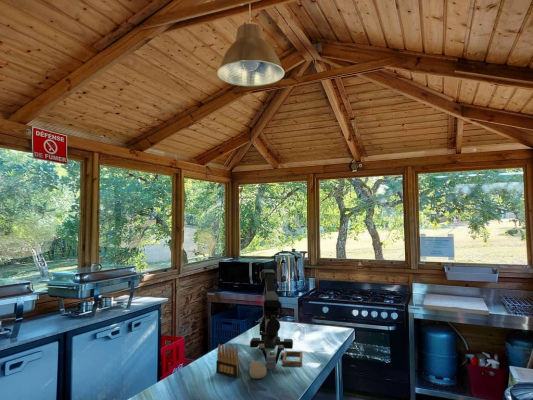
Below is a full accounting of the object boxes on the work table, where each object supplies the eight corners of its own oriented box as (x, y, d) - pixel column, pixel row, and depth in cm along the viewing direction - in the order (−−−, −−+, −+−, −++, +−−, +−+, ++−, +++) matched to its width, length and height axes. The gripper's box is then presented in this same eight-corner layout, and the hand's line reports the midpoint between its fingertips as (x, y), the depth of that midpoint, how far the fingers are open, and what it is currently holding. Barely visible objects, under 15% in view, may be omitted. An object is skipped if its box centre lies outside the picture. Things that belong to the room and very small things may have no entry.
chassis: (279, 365, 164) (279, 361, 164) (281, 354, 178) (281, 350, 179) (301, 366, 163) (301, 361, 163) (302, 355, 177) (302, 351, 177)
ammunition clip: (239, 376, 151) (239, 346, 152) (236, 378, 149) (236, 347, 150) (218, 371, 156) (218, 342, 158) (215, 373, 155) (216, 343, 156)
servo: (265, 369, 159) (265, 356, 160) (268, 362, 168) (268, 349, 169) (275, 369, 159) (275, 356, 159) (277, 362, 168) (277, 349, 168)
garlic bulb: (255, 374, 154) (255, 354, 155) (268, 377, 151) (268, 356, 151) (246, 379, 148) (246, 358, 149) (260, 382, 145) (260, 361, 146)
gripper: (248, 330, 158) (247, 368, 157) (291, 332, 156) (291, 370, 155) (252, 324, 169) (251, 359, 168) (292, 325, 167) (293, 361, 166)
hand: (271, 363), depth 164 cm, fingers closed on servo, 4 cm apart
